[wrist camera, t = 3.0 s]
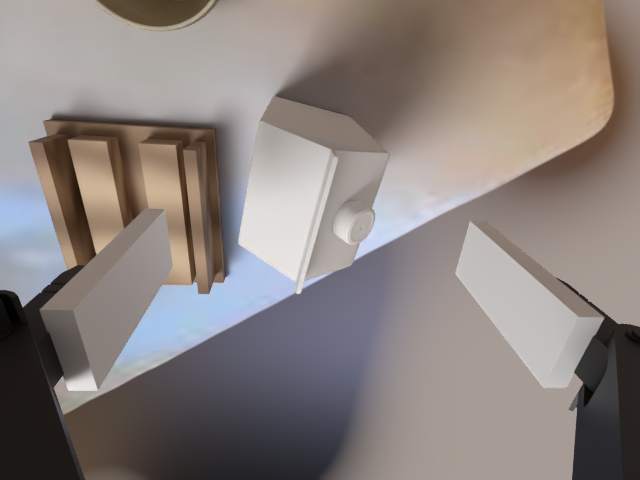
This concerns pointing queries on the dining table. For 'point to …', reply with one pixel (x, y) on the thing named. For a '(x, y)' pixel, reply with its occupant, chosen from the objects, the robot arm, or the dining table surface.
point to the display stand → (134, 190)
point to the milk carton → (310, 190)
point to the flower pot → (157, 12)
